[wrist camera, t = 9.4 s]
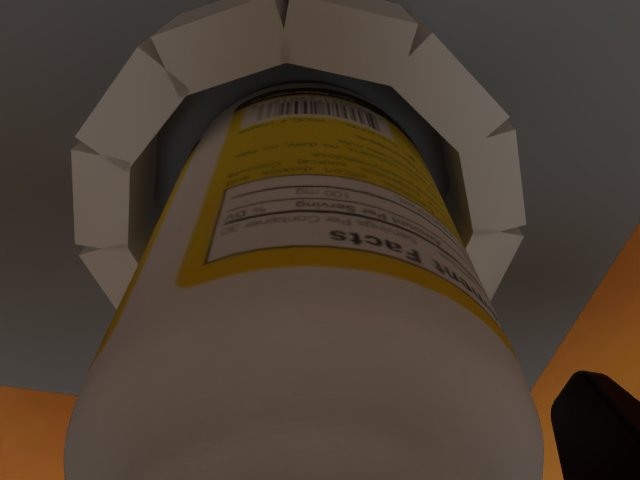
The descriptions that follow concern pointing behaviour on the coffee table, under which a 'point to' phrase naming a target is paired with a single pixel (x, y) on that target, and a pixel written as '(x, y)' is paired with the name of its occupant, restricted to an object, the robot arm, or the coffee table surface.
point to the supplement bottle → (305, 318)
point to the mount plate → (324, 68)
